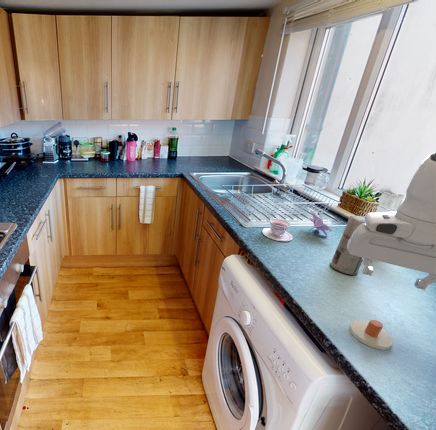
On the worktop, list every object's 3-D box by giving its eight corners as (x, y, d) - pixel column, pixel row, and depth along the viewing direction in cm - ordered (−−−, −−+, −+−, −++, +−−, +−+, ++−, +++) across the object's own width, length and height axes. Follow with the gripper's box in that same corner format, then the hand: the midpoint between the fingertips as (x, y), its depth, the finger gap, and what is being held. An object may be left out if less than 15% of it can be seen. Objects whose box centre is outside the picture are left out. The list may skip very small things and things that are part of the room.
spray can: (332, 259, 108) (351, 211, 100) (359, 268, 103) (382, 218, 94) (326, 268, 103) (347, 218, 94) (355, 278, 97) (379, 226, 89)
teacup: (258, 227, 131) (261, 215, 128) (285, 230, 129) (289, 217, 127) (267, 240, 120) (270, 227, 117) (297, 243, 119) (301, 230, 116)
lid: (383, 329, 77) (390, 316, 75) (397, 354, 70) (405, 341, 68) (345, 319, 80) (351, 307, 78) (354, 342, 73) (361, 329, 71)
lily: (328, 245, 119) (343, 226, 117) (301, 230, 122) (316, 211, 119) (316, 240, 131) (330, 223, 129) (292, 226, 133) (305, 209, 131)
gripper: (482, 234, 58) (448, 288, 64) (358, 212, 68) (338, 260, 74) (499, 248, 54) (460, 305, 59) (362, 221, 63) (340, 273, 69)
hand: (391, 280), depth 67 cm, fingers open, 8 cm apart
